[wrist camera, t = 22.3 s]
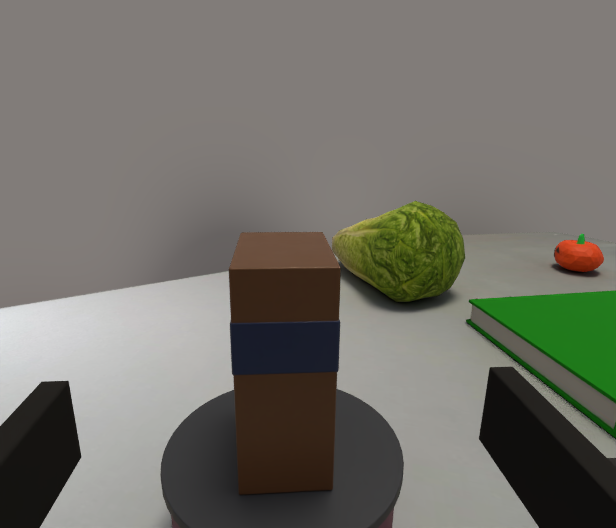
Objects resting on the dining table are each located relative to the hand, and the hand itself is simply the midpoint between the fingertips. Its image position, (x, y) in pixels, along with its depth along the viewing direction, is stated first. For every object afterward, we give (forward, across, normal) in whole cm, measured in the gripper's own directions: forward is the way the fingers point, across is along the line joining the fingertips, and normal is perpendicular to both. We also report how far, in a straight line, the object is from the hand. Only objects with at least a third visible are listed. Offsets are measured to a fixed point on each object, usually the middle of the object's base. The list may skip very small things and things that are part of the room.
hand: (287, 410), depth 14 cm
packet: (+8, 0, -8) cm, 11 cm away
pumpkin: (+56, +53, -14) cm, 79 cm away
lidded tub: (+8, 0, -14) cm, 16 cm away
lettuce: (+52, +17, -14) cm, 57 cm away
